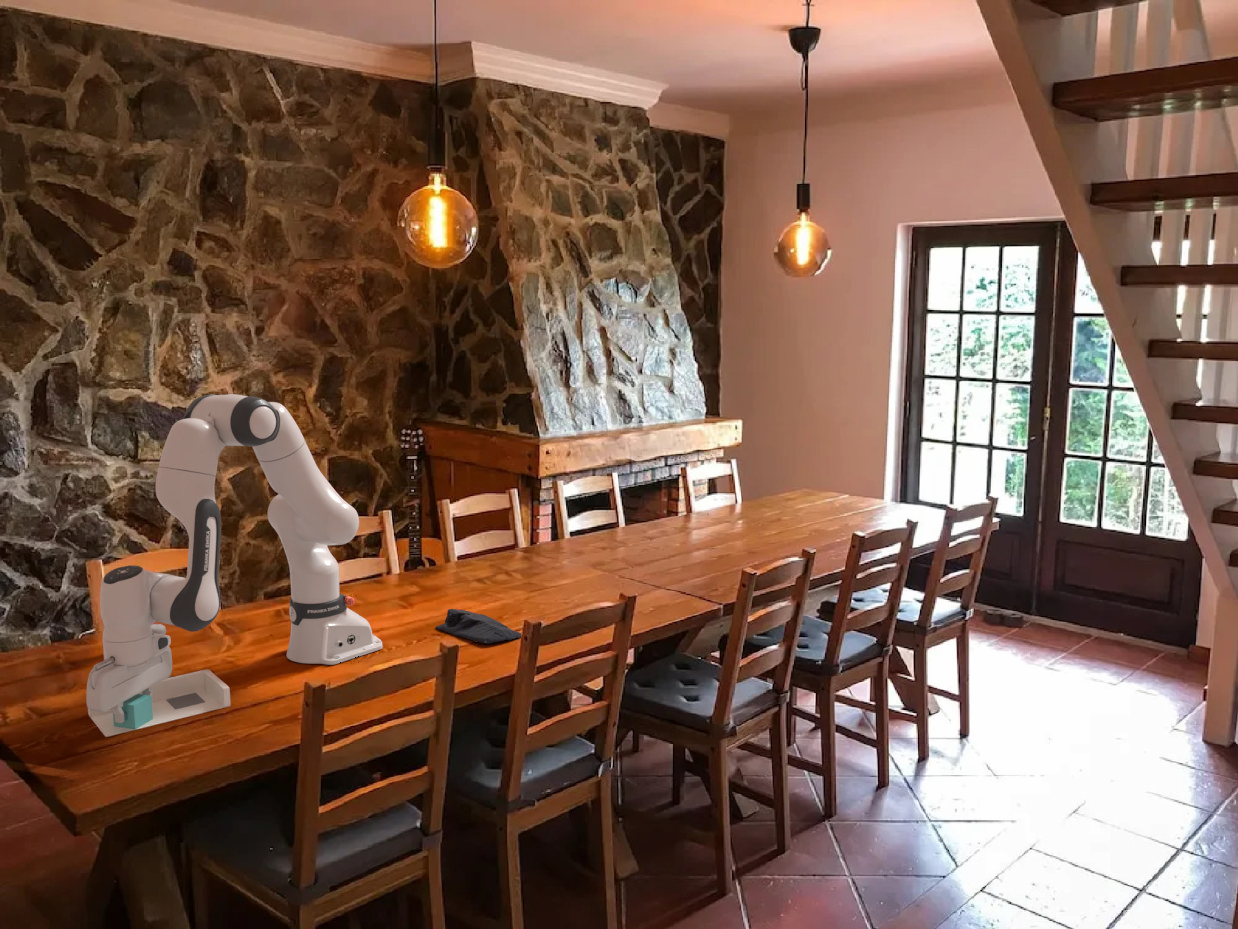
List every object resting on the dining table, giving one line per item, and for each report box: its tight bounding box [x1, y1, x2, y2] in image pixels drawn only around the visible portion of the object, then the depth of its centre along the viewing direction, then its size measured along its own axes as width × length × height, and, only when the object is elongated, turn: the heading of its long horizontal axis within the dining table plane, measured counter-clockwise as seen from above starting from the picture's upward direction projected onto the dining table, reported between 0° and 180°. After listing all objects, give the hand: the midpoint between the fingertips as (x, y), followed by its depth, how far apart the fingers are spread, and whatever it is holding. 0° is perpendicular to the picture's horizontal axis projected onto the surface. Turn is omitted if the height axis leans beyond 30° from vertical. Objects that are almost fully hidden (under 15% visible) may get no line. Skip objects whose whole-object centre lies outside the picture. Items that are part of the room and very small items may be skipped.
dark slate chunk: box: [435, 608, 522, 645], centre depth 263 cm, size 15×22×5 cm
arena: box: [87, 669, 231, 738], centre depth 210 cm, size 24×13×5 cm, turn 130°
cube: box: [113, 694, 153, 730], centre depth 204 cm, size 5×5×5 cm
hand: (133, 715), depth 204 cm, fingers closed on cube, 5 cm apart
